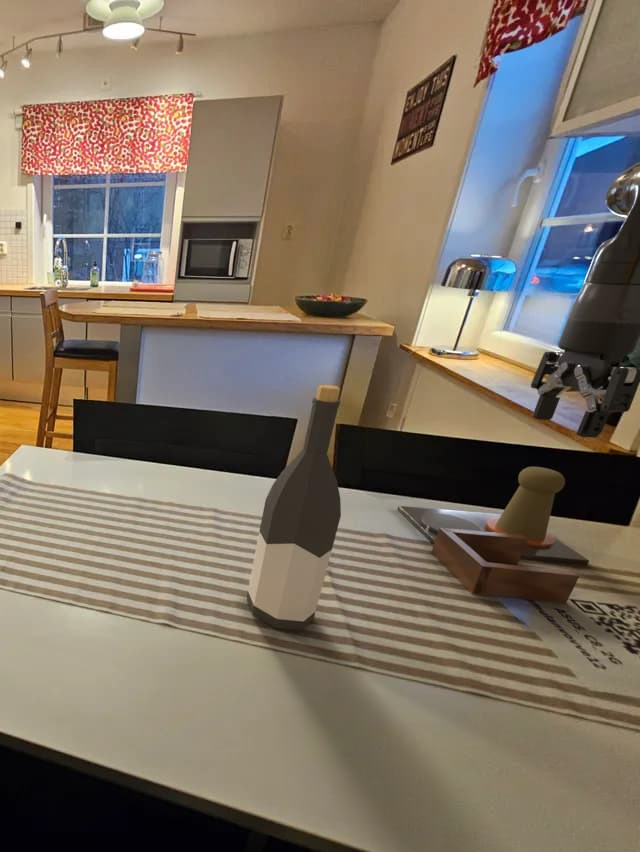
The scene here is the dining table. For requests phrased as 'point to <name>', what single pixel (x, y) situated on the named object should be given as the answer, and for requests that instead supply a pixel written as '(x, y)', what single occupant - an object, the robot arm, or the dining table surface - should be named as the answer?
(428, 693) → the dining table surface
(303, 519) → the wine bottle
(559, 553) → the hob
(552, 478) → the olive knobbed cone
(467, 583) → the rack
